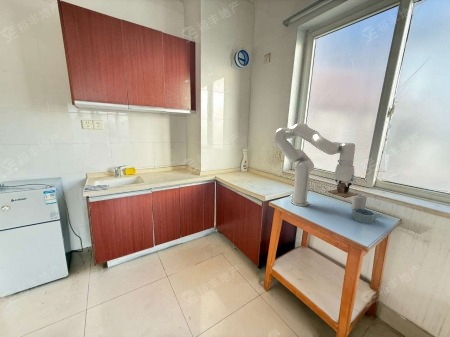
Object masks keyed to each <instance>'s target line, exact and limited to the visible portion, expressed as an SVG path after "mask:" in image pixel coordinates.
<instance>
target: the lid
mask: <svg viewBox="0 0 450 337" xmlns="http://www.w3.org/2000/svg"><path fill="white" fill-rule="evenodd" d="M345 186H346V182H344V181H342V182H341V183H338V190H337V188H336V189H332V190H328V191H327V193H328V194H332V195H335V196H338V197H341V198H344V199H348V198H353V196H356V195H358V194H356V193H357V192H352V191H348V192H344V189H345Z"/></svg>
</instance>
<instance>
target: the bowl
mask: <svg viewBox="0 0 450 337" xmlns="http://www.w3.org/2000/svg"><path fill="white" fill-rule="evenodd" d="M377 216H378V215H377V213H376V212H375V211H372V210H369V209H367V208H365V209H362V208H355V209H353V210H352V214H351V217H352V219H353V220H354V221H357V222H359V223H361V224H365V225H366V224H367V225H372V224H376V221H377Z"/></svg>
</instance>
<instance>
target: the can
mask: <svg viewBox="0 0 450 337" xmlns="http://www.w3.org/2000/svg"><path fill="white" fill-rule="evenodd" d="M355 193H356V194H358V195H356V196H352V201H351V210H352V211H353V209H355V208H362V209H366V203H367V199H368V197H367V194H366V193H362V192H355Z"/></svg>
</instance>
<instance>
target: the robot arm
mask: <svg viewBox="0 0 450 337" xmlns="http://www.w3.org/2000/svg"><path fill="white" fill-rule="evenodd" d="M298 137H299V138H301V139H302V140H304V141H306V142H308V143H309V144H310V145H312V146H313V147H315V148H316V149H317V150H319V151H321V152H323V153H325V154H327V155H330V156H333V155H337V154H339V158H338V160H337V163H338V164H337V165H336V167H335V172H334V176H333V177H332V178H333V180H334V181H335V182H336V185H337V186H336V189H337V190H338V183H342V182H344V183H346V186H345V189H344V192H348V191H349V190H350V187H351V186H352V185H355V184H356V183H357V182H356V180H355V166H354V159H355V151H356V144H355V143H354V142H338V141H330V140H328V139H327V138H325V137H324V136H322V135H321V134H320V132H319V131H317V130H315V129H313V128H311V127H309V126H308V124H307V123H304V122H297V123H296V124H294V125H293V126H289V127H280V128H278V129H277V130H276V131H275V133H274V137H273V138H274V139H273V140H274V142H275V144H276V146H277V147H278V148H279V150H280V151H281V152H282V154H283V155H284V156H285V157H286V158H287V160H288V161H289V162H290V163H296V165H295V167H294V184H293V193H292V194H290V195H289V197H290V198H291V199H290V203H291V204H292V203H293V205H294V204H295V206H298V207H307V206H309V203H310V202H309V201H308V193H309V182H310V172H312V171H313V170H314V169H315V165H314V162H313V161H312V160H311V158H310V157H309V156H308V155H307V153H306V152H305V151H303V150H302V149H301V148H295V147H294V145H293V144H292V143H291V142H290V141H289V139H294V138H298ZM349 192H350V191H349Z"/></svg>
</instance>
